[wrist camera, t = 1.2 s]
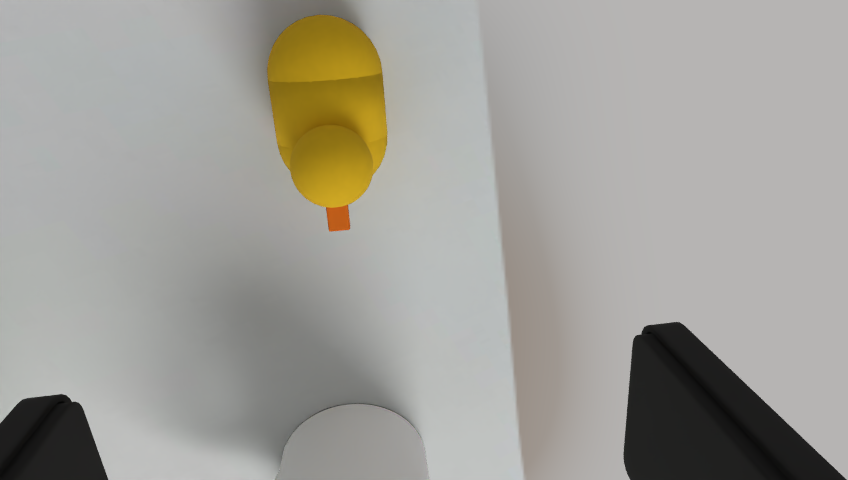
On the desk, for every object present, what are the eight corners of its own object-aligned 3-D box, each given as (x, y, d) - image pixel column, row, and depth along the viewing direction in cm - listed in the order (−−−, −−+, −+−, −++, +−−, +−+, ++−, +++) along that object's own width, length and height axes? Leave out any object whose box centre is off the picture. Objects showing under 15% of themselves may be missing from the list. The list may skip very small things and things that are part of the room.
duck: (268, 19, 24) (237, 17, 17) (375, 12, 24) (381, 8, 18) (294, 197, 26) (275, 250, 20) (389, 189, 27) (400, 239, 20)
